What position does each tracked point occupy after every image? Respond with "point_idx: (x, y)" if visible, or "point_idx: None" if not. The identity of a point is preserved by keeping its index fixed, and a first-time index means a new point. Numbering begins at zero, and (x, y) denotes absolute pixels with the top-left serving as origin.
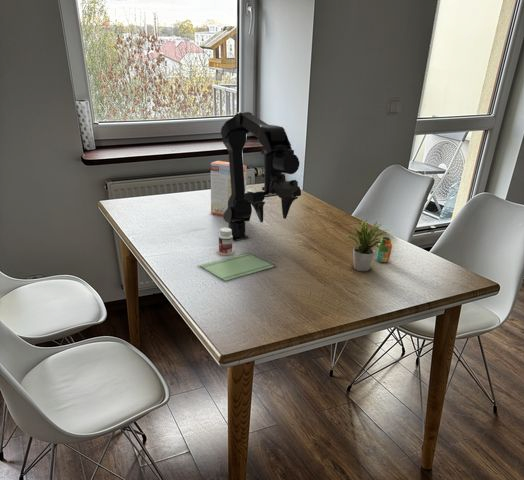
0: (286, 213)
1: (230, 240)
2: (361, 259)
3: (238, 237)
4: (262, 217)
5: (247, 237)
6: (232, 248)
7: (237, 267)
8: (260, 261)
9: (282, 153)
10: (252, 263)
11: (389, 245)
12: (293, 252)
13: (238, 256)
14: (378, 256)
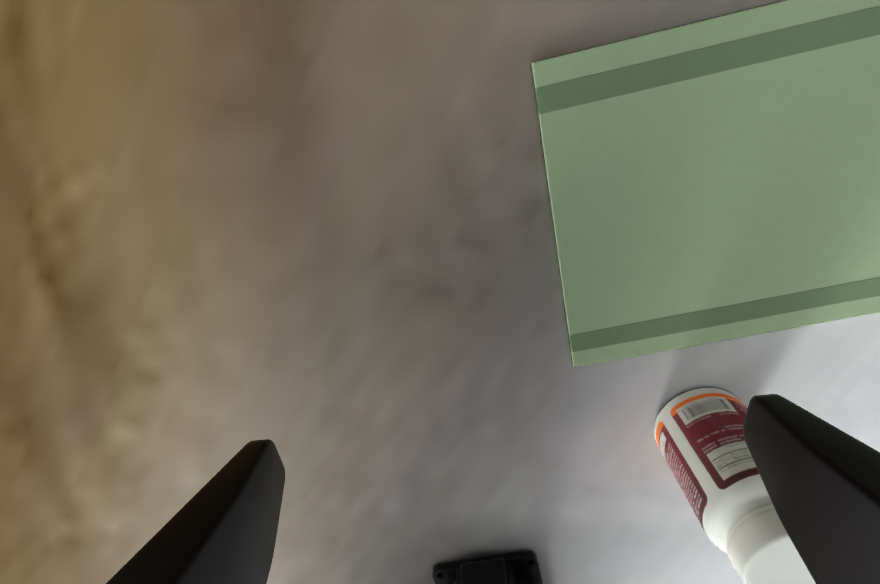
0: (214, 507)
1: (747, 462)
2: None
3: (507, 568)
4: (843, 455)
5: (439, 565)
6: (676, 428)
7: (819, 154)
8: (580, 201)
9: None
10: (660, 188)
11: None
12: (241, 285)
13: (670, 339)
14: None
